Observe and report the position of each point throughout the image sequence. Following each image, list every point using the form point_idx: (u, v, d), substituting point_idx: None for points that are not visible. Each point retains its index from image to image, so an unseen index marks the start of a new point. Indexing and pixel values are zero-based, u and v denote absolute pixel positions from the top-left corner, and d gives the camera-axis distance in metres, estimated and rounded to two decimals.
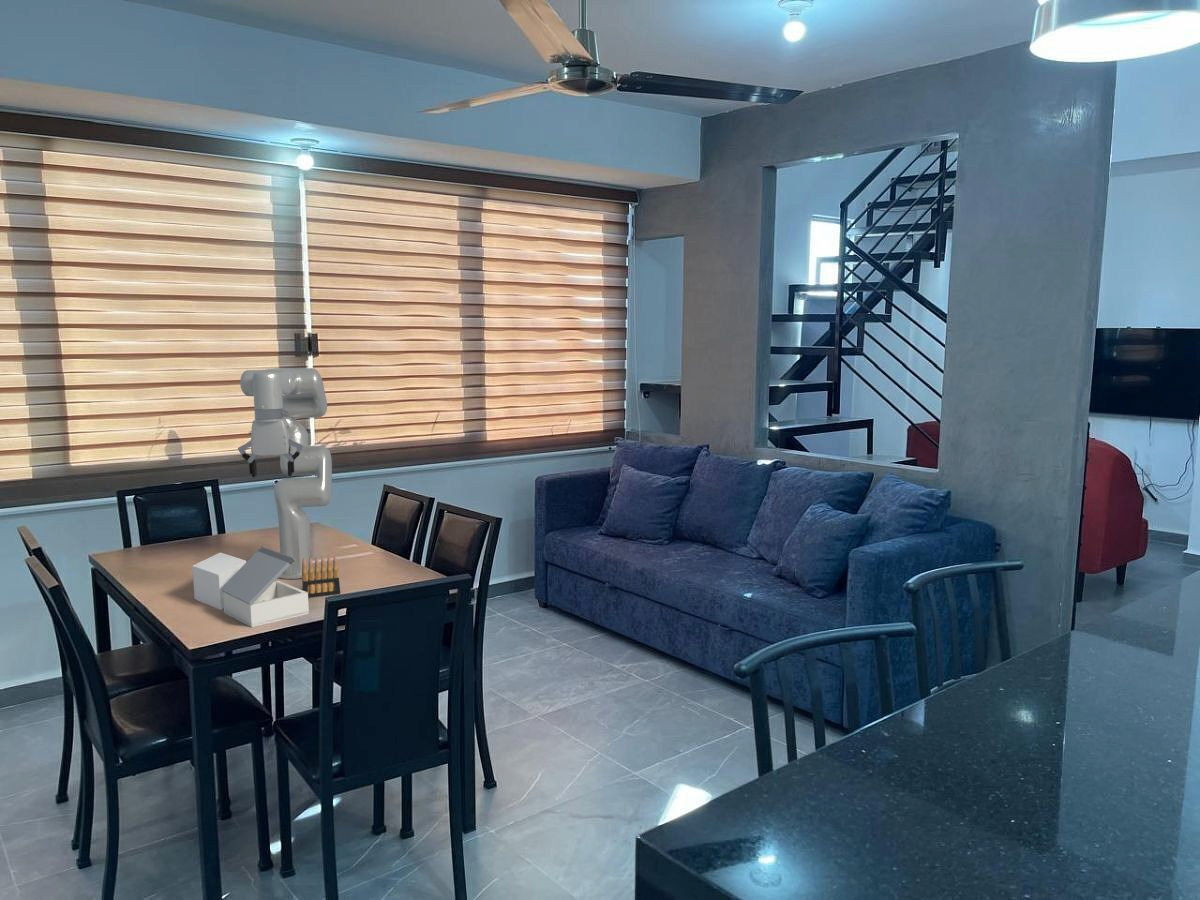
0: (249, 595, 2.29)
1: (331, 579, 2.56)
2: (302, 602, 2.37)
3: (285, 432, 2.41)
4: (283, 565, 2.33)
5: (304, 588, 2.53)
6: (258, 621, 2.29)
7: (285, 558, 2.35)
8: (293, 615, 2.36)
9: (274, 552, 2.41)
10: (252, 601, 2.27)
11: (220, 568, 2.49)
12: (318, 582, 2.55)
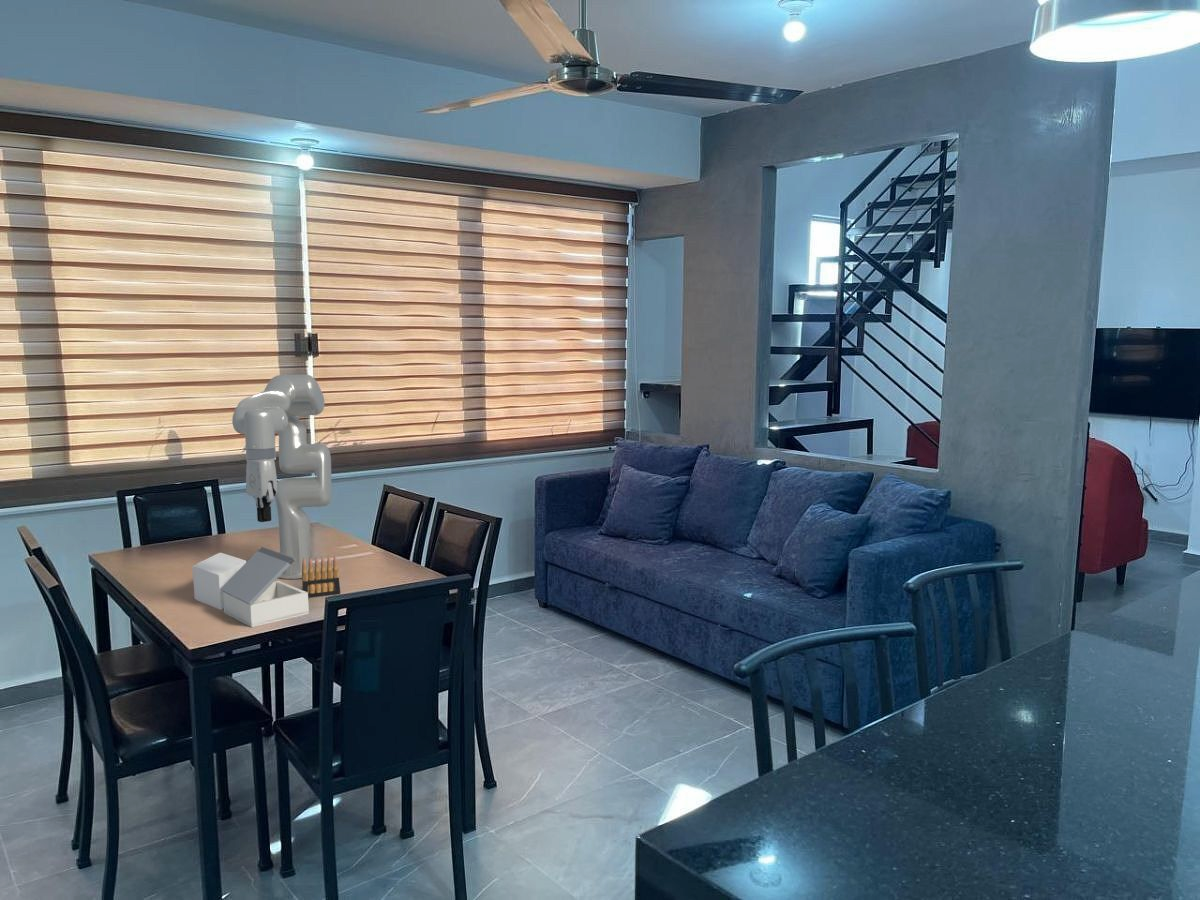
0: (249, 595, 2.29)
1: (331, 579, 2.56)
2: (302, 602, 2.37)
3: None
4: (283, 565, 2.33)
5: (304, 588, 2.53)
6: (258, 621, 2.29)
7: (285, 558, 2.35)
8: (293, 615, 2.36)
9: (274, 552, 2.41)
10: (252, 601, 2.27)
11: (220, 568, 2.49)
12: (318, 582, 2.55)
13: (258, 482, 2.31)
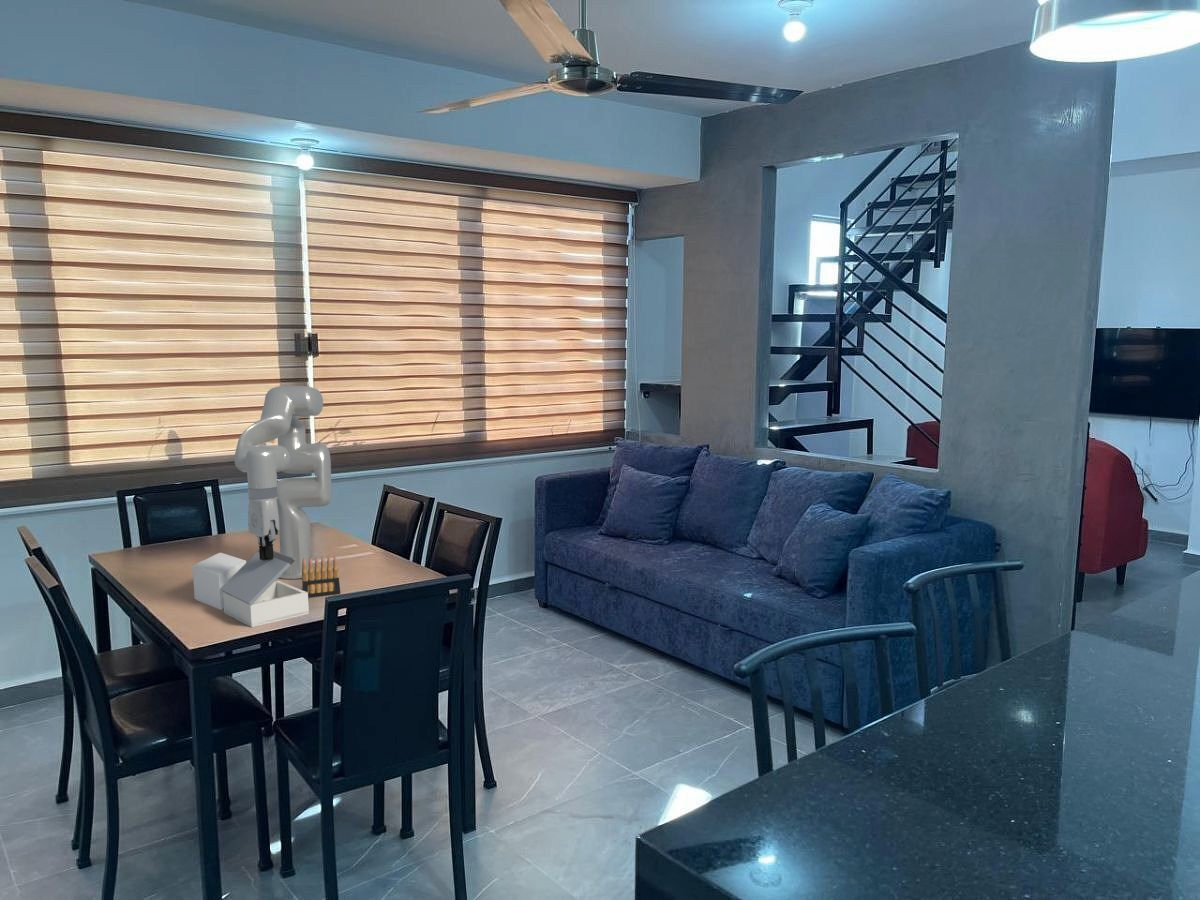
0: (249, 595, 2.29)
1: (331, 579, 2.56)
2: (302, 602, 2.37)
3: None
4: (283, 565, 2.33)
5: (304, 588, 2.53)
6: (258, 621, 2.29)
7: (285, 558, 2.35)
8: (293, 615, 2.36)
9: (274, 552, 2.41)
10: (252, 601, 2.27)
11: (220, 568, 2.49)
12: (318, 582, 2.55)
13: (260, 521, 2.33)
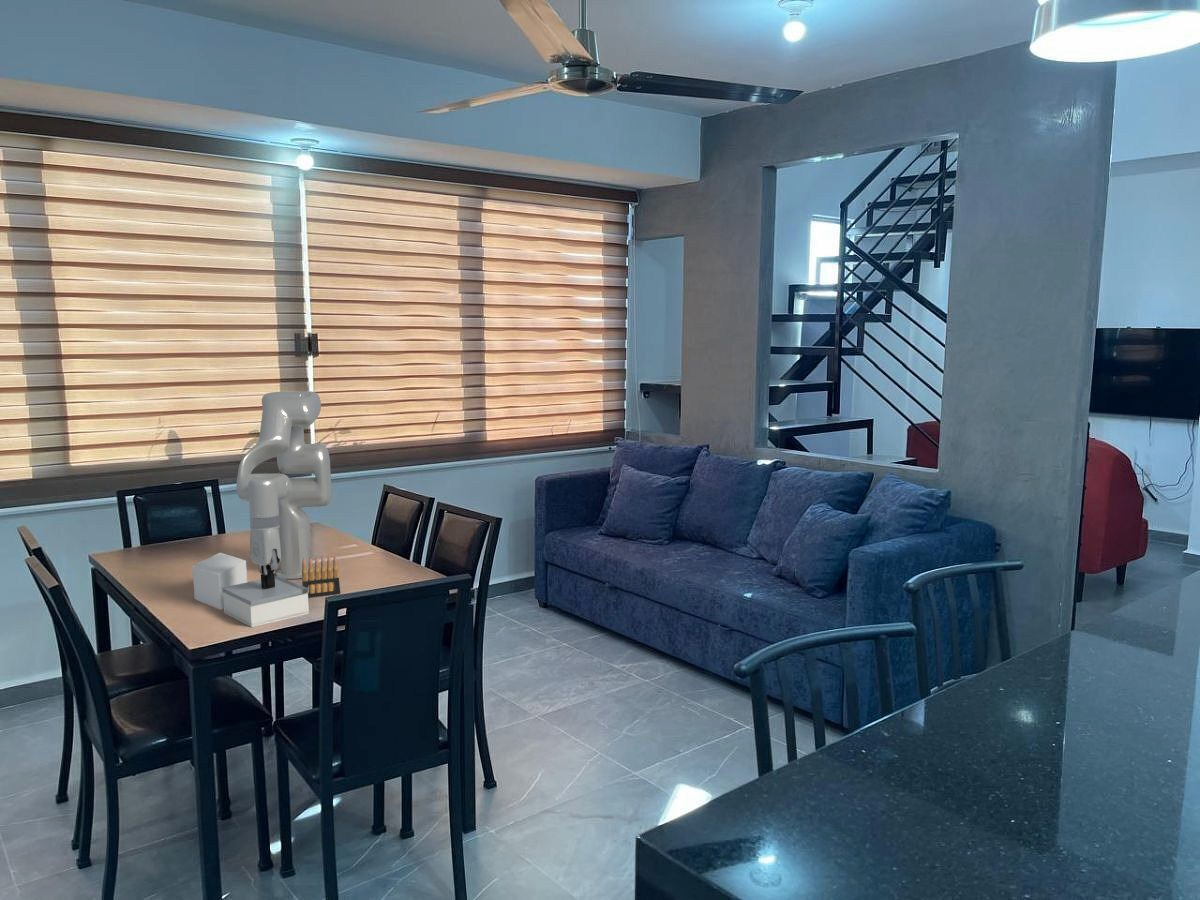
0: (253, 597, 2.30)
1: (331, 579, 2.56)
2: (302, 602, 2.37)
3: None
4: (296, 590, 2.36)
5: None
6: (258, 621, 2.29)
7: (300, 587, 2.39)
8: (293, 615, 2.36)
9: (289, 581, 2.45)
10: (254, 602, 2.27)
11: (220, 568, 2.49)
12: (318, 582, 2.55)
13: (262, 550, 2.33)
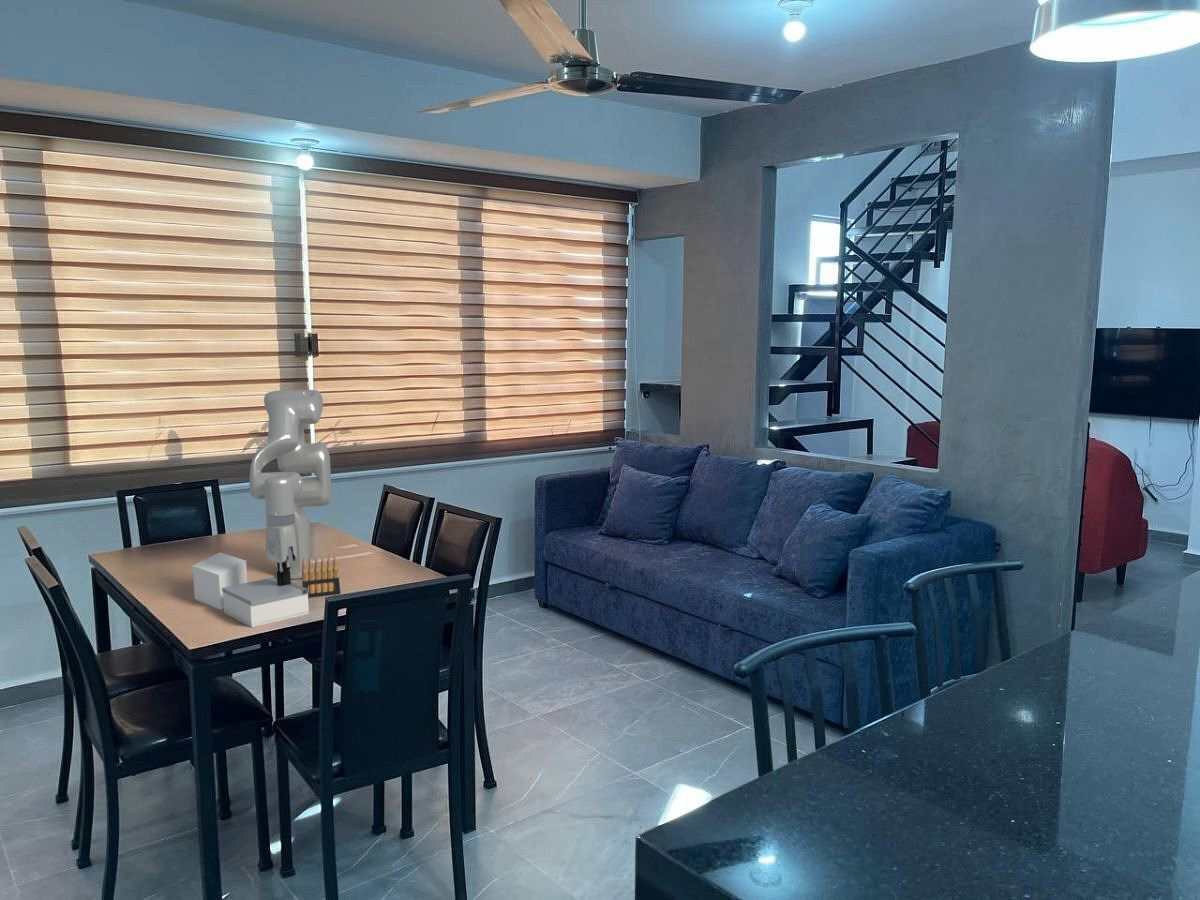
0: (253, 598, 2.30)
1: (331, 579, 2.56)
2: (302, 602, 2.37)
3: None
4: (296, 591, 2.36)
5: None
6: (258, 621, 2.29)
7: (300, 587, 2.39)
8: (293, 615, 2.36)
9: None
10: (254, 602, 2.27)
11: (220, 568, 2.49)
12: (318, 582, 2.55)
13: (278, 548, 2.37)
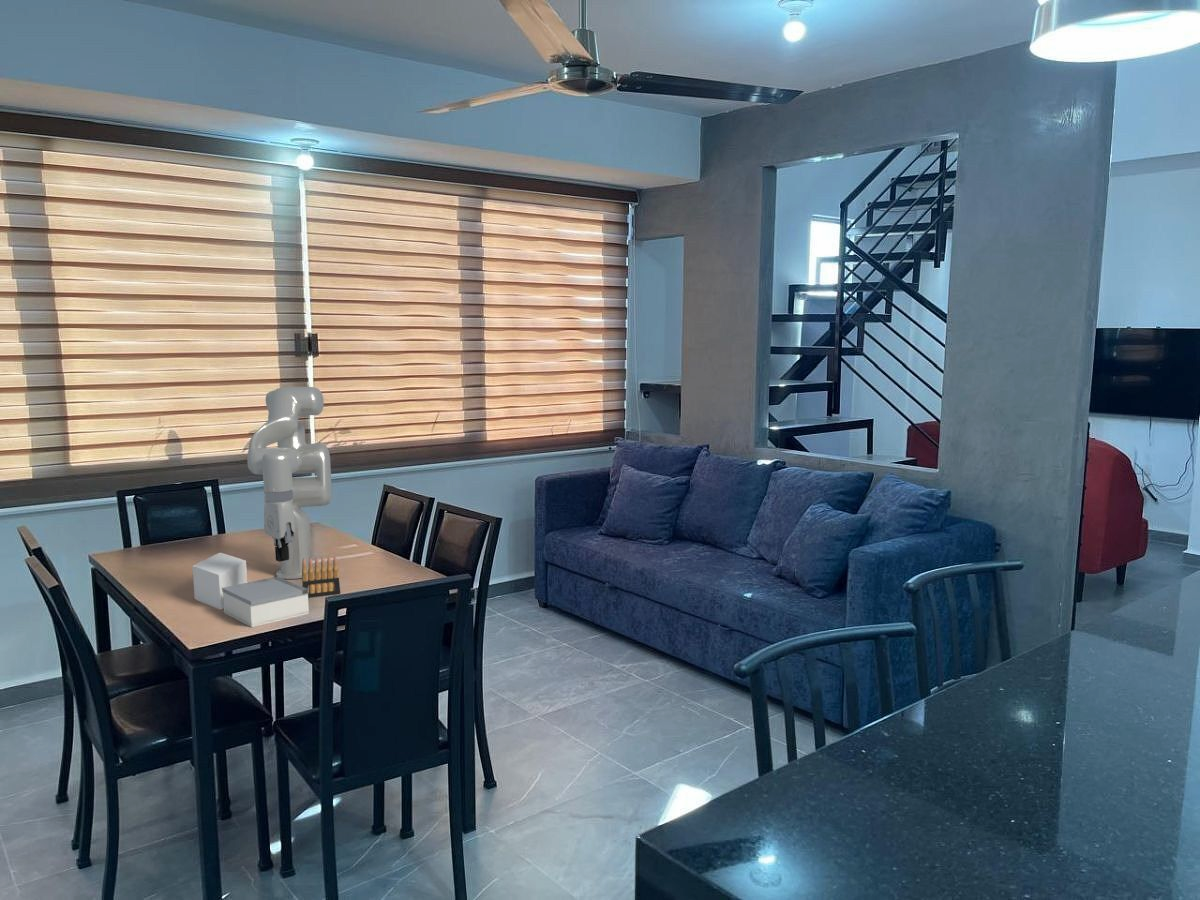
0: (253, 598, 2.30)
1: (331, 579, 2.56)
2: (302, 602, 2.37)
3: None
4: (296, 591, 2.36)
5: None
6: (258, 621, 2.29)
7: (300, 587, 2.39)
8: (293, 615, 2.36)
9: (289, 582, 2.45)
10: (254, 602, 2.27)
11: (220, 568, 2.49)
12: (318, 582, 2.55)
13: (276, 524, 2.36)
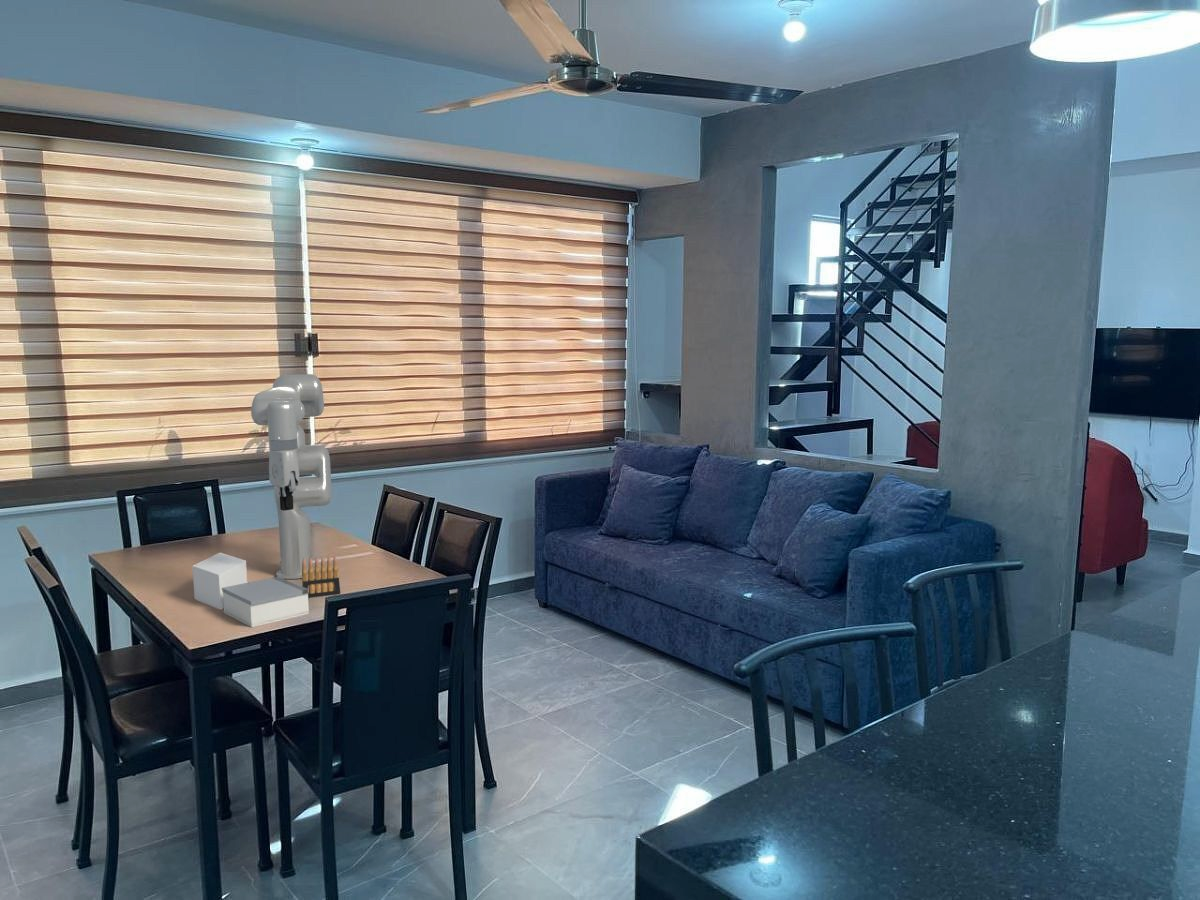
0: (253, 598, 2.30)
1: (331, 579, 2.56)
2: (302, 602, 2.37)
3: None
4: (296, 591, 2.36)
5: None
6: (258, 621, 2.29)
7: (300, 587, 2.39)
8: (293, 615, 2.36)
9: (289, 582, 2.45)
10: (254, 602, 2.27)
11: (220, 568, 2.49)
12: (318, 582, 2.55)
13: (281, 472, 2.38)
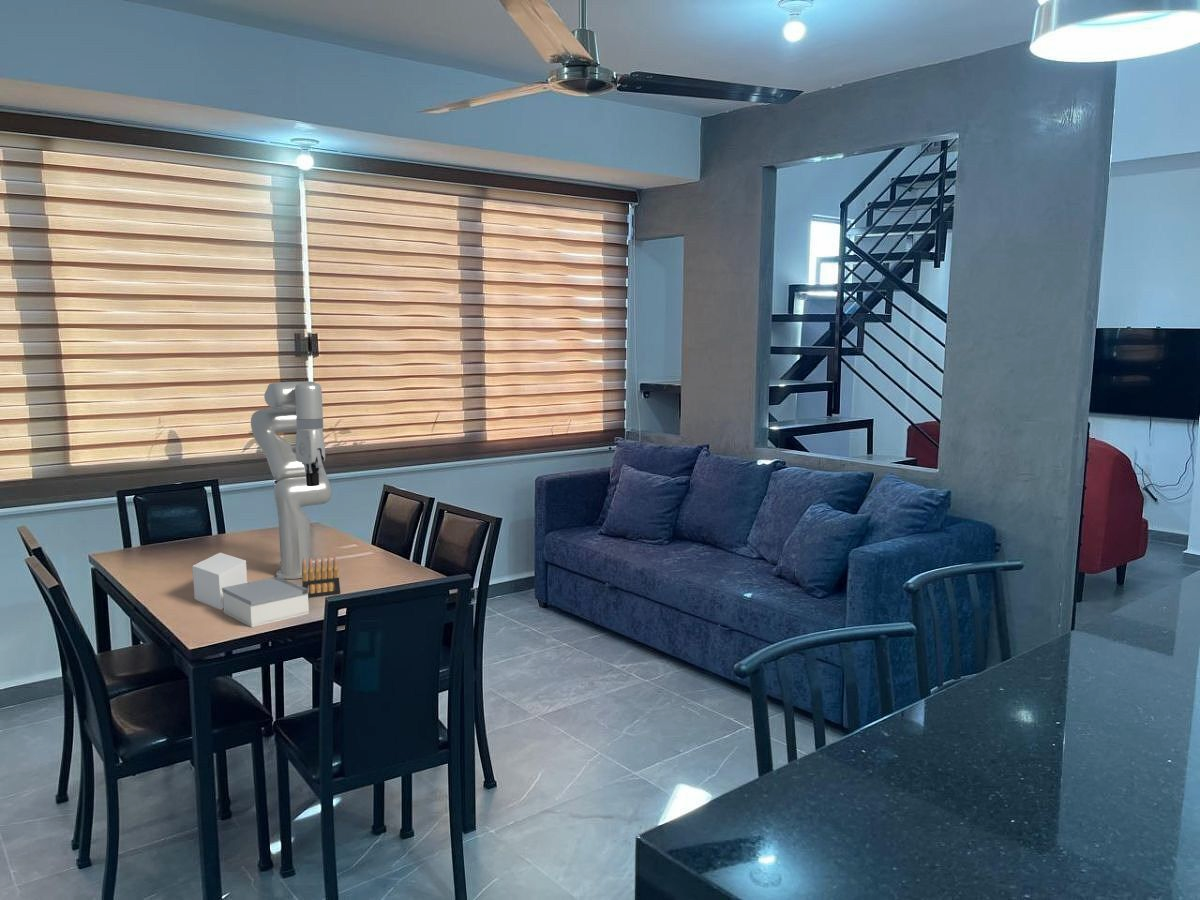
0: (253, 598, 2.30)
1: (331, 579, 2.56)
2: (302, 602, 2.37)
3: None
4: (296, 591, 2.36)
5: None
6: (258, 621, 2.29)
7: (300, 587, 2.39)
8: (293, 615, 2.36)
9: (289, 582, 2.45)
10: (254, 602, 2.27)
11: (220, 568, 2.49)
12: (318, 582, 2.55)
13: (308, 449, 2.52)
